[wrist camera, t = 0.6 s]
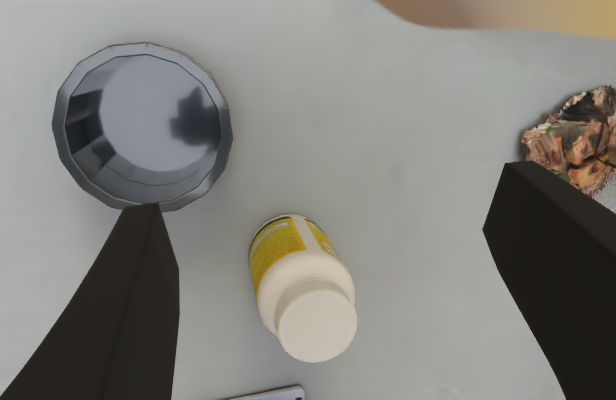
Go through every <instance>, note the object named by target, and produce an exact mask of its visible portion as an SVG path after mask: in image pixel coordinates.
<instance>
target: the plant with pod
mask: <svg viewBox="0 0 616 400" xmlns="http://www.w3.org/2000/svg"><path fill="white" fill-rule="evenodd" d="M611 87H612V86H611V85H610V86H609V87H608V86H606V85H605V89H604V87H603V86H602V89H601V88H600V87H599V91H598V90H596V89H595V90H594V91H591V92H590V93H589V91H588V92H587V93H586V92H585V91H583V93H582V94H581V95H576V96H575V95H573V98H571V99H569V101H570V102H567V103H566V105H565V106H563V107H561V112H560V113H558V114H550V115H549V117H548V119H547V121H546V123H545V124H539V127H538V129H537V128H535V127H534V128H533V129H532V130H529V131H525V132H524V136H523V139H522V142H521V145H523V144H527V145H526V146H525V147H524V148H523V150H522V152H524V153H525V154H526V155H527V157H526V159H525V161H529V160H533V161H535V162H536V163H538V164H540V165H541V166H543V167H545V168H546V169H548V170H550V171H551V172H553V173H554V174H556V175H557V176H559V177H560V178H562V179H563V180H565V181H567V182H568V183H570V184H571V185H573V186H574V187H576V188H577V189H579V190H580V191H582V192H583V193H585V194H586V195H588V196H589V197H593V196H594V191H595V192H596V193H597V194H598V192H599V189H600V190H602V189H603V187H604V186H605V183H607V182H606V180H605V179H611V177H612V175H616V90H615V88H611ZM604 182H605V183H604ZM597 191H598V192H597Z"/></svg>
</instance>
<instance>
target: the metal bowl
mask: <svg viewBox="0 0 616 400" xmlns="http://www.w3.org/2000/svg"><path fill="white" fill-rule="evenodd" d="M52 130H53V134H54V138H55V142H56V146H57V150H58V154H59V158H60V159H61V162H62V163H63V165H64V166H65V167H66V169H67V170H68V171H69V173H70V174H71V175H72V177H73V178H74V180H75V181H76V182H77V184H78V185H79V186H80V187H81V188H82V189H83V190H84V191H86V192H87V193H89V194H91V195H92V196H94V197H95V198H97V199H98V200H100V201H101V202H103V203H105V204H106V205H108V206H109V207H112V208H115V209H120V210H124V209H125V208H126V207H127V206H134V205H143V204H152V203H159V207H160V210H161V212H169V211H176V210H179V209H181V208H182V207H184V206H186V205H188V204H189V203H191V202H193V201H195V200H197V199H198V198H200V197H202V196H204V195H205V194H206V193H207V192H208V191H209V189H210V188H211V187H212V185H213V184H214V183H215V182H216V180H217V179H218V178H219V177H220V175H221V174H222V173H223V171H224V169H225V167H226V164H227V160H228V156H229V152H230V149H231V145H232V141H233V134H232V127H231V119H230V112H229V106H228V104H227V101H226V98H225V97H224V95H223V93H222V91H221V90H220V88H219V86H218V84H217V83H216V81H215V79H214V77H213V76H212V74H211V73H210V72H209V71H207V70H206V69H205V68H204V67H202V66H201V65H200V64H199V63H198V62H196V61H195V60H194V59H193V58H191V57H190V56H189V55H188V54H185V53H183V52H180V51H176V50H173V49H170V48H167V47H164V46H160V45H157V44H153V43H150V42H139V43H128V44H116V45H111V46H107V47H106V48H104V49H102V50H100V51H98V52H97V53H95V54H93V55H91V56H89V57H87V58H86V59H84V60H82V61H80V62H79V63H78V64H77V65H76V67H75V68H74V69H73V71H72V72H71V73H70V75H69V76H68V78H67V79H66V80H65V82H64V83H63V84H62V86H61V87H60V89H59V90H58V92H57V98H56V103H55V108H54V114H53V119H52Z"/></svg>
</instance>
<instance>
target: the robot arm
mask: <svg viewBox="0 0 616 400" xmlns="http://www.w3.org/2000/svg"><path fill="white" fill-rule="evenodd" d="M482 230H483V233H484V235H485V238H486V241H487V244H488V246H489V249H490V252H491V254H492V257H493V259H494V262H495V264H496V266H497V269H498V271H499V273H500V275H501V277H502V279H503V281H504V282H505V284H506V286H507V288H508V290H509V292H510V293H511V295H512V297H513V299H514V301H515V302H516V304H517V306H518V308H519V310H520V311H521V313H522V315H523V317H524V318H525V320H526V322H527V324H528V326H529V327H530V329H531V331H532V333H533V335H534V336H535V338H536V340H537V342H538V343H539V345H540V347H541V349H542V351H543V352H544V354H545V356H546V358H547V359H548V361H549V363H550V365H551V367H552V369H553V371H554V373H555V375H556V377H557V379H558V381H559V384H560V386H561V388H562V391H563V393H564V395H565V398H566V400H616V214H615V213H613V212H612V211H610V210H609V209H607V208H606V207H604V206H603V205H601V204H600V203H598V202H597V201H595V200H594V199H592V198H591V197H589V196H588V195H586V194H585V193H583V192H582V191H580V190H579V189H577V188H576V187H574V186H573V185H571V184H570V183H568V182H567V181H565V180H563V179H562V178H560V177H559V176H557V175H556V174H554V173H553V172H551V171H550V170H548V169H546V168H545V167H543V166H541V165H540V164H538V163H536V162H535V161H533V160H529V161H520V162H512V163H505V165H504V168H503V171H502V174H501V177H500V180H499V183H498V186H497V189H496V191H495V194H494V197H493V200H492V203H491V206H490V209H489V212H488V215H487V218H486V221H485V224H484V227H483V229H482ZM179 315H180V304H179V268H178V264H177V261H176V258H175V255H174V252H173V248H172V245H171V242H170V239H169V236H168V232H167V229H166V226H165V223H164V220H163V216H162V213H161V210H160V207H159V203H152V204H143V205H134V206H127V207H126V208H125V209H124V210H123V211H122V213H121V215H120V216H119V218H118V220H117V222H116V224H115V226H114V228H113V230H112V231H111V233H110V235H109V237H108V239H107V240H106V242H105V244H104V246H103V248H102V249H101V251H100V253H99V255H98V256H97V258H96V260H95V261H94V263H93V265H92V267H91V268H90V270H89V271H88V273H87V275H86V276H85V278H84V279H83V281H82V283H81V284H80V286H79V288H78V289H77V291H76V292H75V294H74V296H73V297H72V299H71V300H70V302H69V303H68V305H67V307H66V308H65V309H64V311H63V312H62V314H61V315H60V317H59V318H58V320H57V321H56V323H55V324H54V325H53V327H52V328H51V330H50V331H49V333H48V334H47V336H46V337H45V338H44V340H43V341H42V343H41V344H40V346H39V347H38V348H37V350H36V351H35V352H34V354H33V355H32V356H31V358H30V359H29V361H28V362H27V363H26V365H25V366H24V367H23V368H22V370H21V371H20V372H19V374H18V375H17V376H16V378H15V379H14V380H13V381H12V383H11V384H10V385H9V386H8V387H7V389H6V390H5V391H4V392H3V394H2V395H1V396H0V400H171V395H172V385H173V376H174V366H175V356H176V347H177V336H178V326H179ZM298 397H300V399H299V400H305V393H304V389H303V388H302V387H301V386H293V387H288V388H284V389H279V390H274V391H269V392H264V393H259V394H254V395H249V396H244V397H239V398H234V399H229V400H296V398H298Z"/></svg>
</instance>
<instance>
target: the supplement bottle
mask: <svg viewBox="0 0 616 400" xmlns="http://www.w3.org/2000/svg"><path fill="white" fill-rule="evenodd" d="M248 257H249V267H250V272H251V277H252V282H253V287H254V292H255V297H256V302H257V307H258V311H259V314H260V317H261V319H262V321H263V323H264V324H265V326H266V327H267V329H268V330H269V331H270V332H271V333H272V334H274V335H275V336H276V337H278V338H279V341H280V344H281V346H282V347H283V349H284V350H285V351H286V352H287V353H288V354H289V355H290V356H292V357H293V358H295V359H297V360H300V361H303V362H308V363H318V362H324V361H327V360H330V359H332V358H334V357H336V356H338V355H339V354H341V353H342V352H343V351H344V350H345V349H346V348H347V347H348V346H349V345H350V343H351V342H352V340H353V338H354V336H355V334H356V330H357V323H358V321H357V314H356V311H355V308H354V302H355V287H354V283H353V280H352V277H351V275H350V273H349V271H348V270H347V268H346V266H345V265H344V263H343V262H342V260H341V259H340V257H339V255H338V254H337V252H336V251H335V249H334V248H333V246H332V244H331V243H330V241H329V240H328V238H327V237H326V235H325V234H324V232H323V231H322V229H321V228H320V227H319V226H318V225H317V224H316V223H315V222H313V221H312V220H310V219H308V218H306V217H304V216H300V215H294V214H287V215H281V216H277V217H275V218H272V219H270V220H268V221H267V222H265V223H264V224H263V225H262V226H261V227H260V228H259V229H258V230H257V231H256V233H255V234H254V236H253V238H252V240H251V242H250V246H249V253H248Z"/></svg>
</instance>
